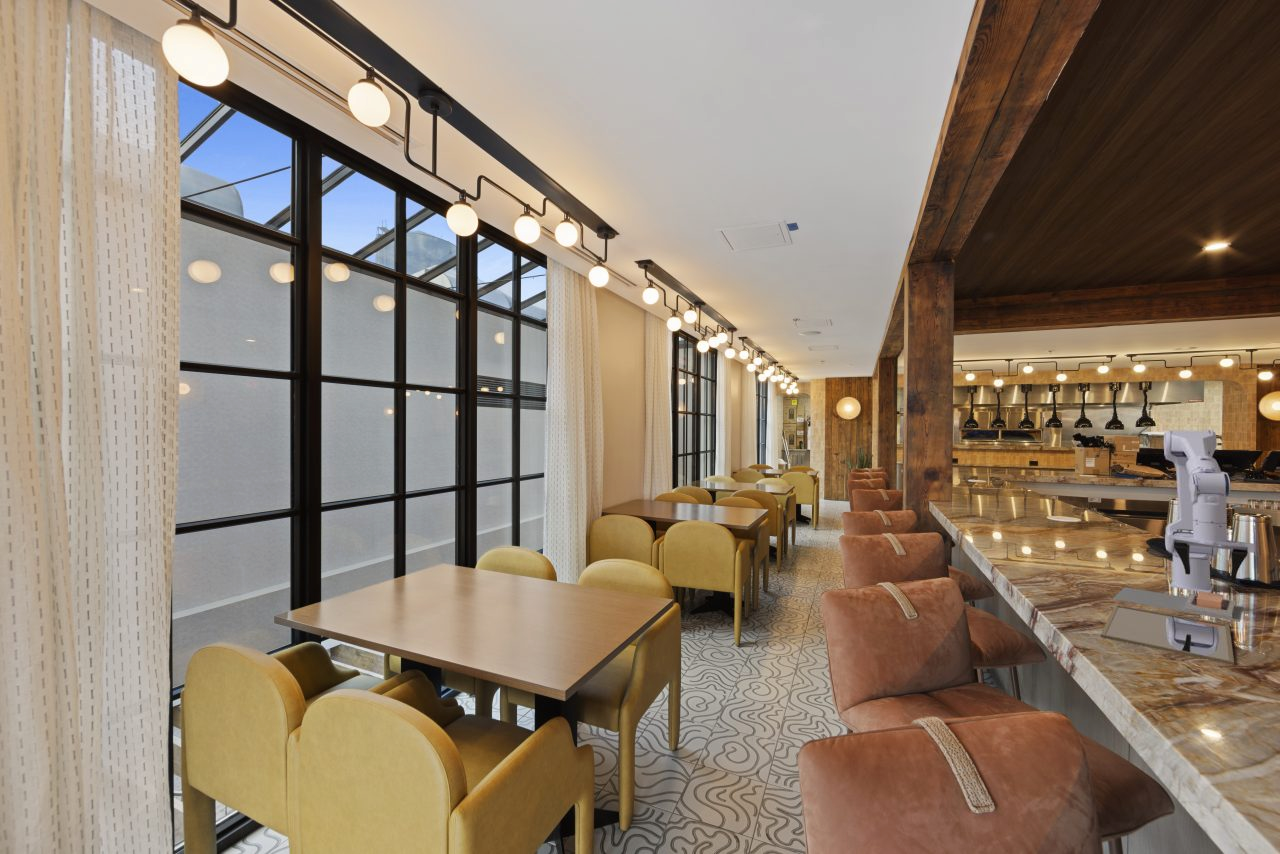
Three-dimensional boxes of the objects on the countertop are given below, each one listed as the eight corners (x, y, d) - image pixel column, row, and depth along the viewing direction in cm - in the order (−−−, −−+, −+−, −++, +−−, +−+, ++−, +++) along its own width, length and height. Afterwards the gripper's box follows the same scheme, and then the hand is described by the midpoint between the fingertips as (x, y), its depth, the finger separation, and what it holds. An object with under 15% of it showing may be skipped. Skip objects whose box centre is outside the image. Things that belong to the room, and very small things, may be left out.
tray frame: (1191, 599, 139) (1191, 593, 139) (1235, 606, 133) (1235, 600, 133) (1185, 610, 131) (1185, 604, 131) (1232, 618, 125) (1231, 612, 125)
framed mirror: (1234, 667, 101) (1229, 629, 120) (1234, 662, 101) (1229, 624, 120) (1100, 639, 115) (1115, 608, 134) (1100, 634, 115) (1115, 604, 134)
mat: (1124, 588, 150) (1124, 587, 150) (1242, 607, 133) (1242, 606, 133) (1112, 599, 140) (1112, 598, 140) (1239, 622, 123) (1239, 621, 123)
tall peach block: (1196, 610, 130) (1196, 598, 130) (1200, 602, 136) (1200, 591, 136) (1221, 615, 127) (1220, 602, 127) (1223, 606, 133) (1223, 594, 133)
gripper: (1166, 519, 135) (1166, 573, 135) (1253, 527, 124) (1254, 586, 124) (1169, 516, 139) (1170, 568, 139) (1254, 523, 128) (1255, 580, 128)
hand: (1210, 576), depth 132 cm, fingers open, 7 cm apart
